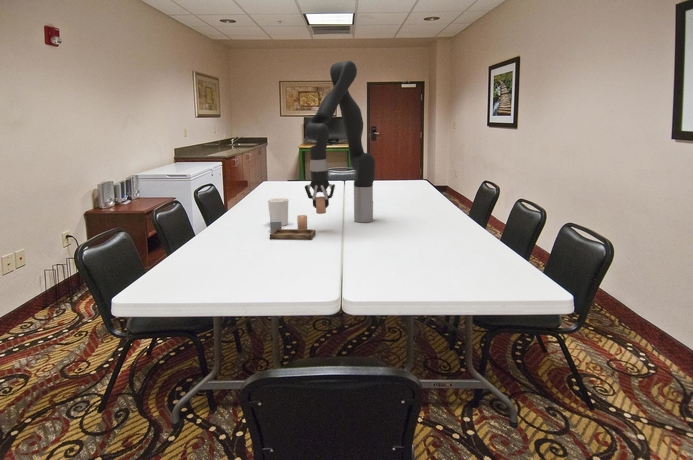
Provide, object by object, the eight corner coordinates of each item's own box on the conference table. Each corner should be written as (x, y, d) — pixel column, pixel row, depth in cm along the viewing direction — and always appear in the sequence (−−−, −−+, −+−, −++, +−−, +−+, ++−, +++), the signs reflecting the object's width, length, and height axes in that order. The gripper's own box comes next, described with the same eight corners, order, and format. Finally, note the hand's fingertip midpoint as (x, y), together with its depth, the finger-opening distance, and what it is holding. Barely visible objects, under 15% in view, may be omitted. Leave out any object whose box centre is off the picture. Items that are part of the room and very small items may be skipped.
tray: (315, 234, 210) (315, 229, 210) (311, 239, 201) (311, 235, 200) (276, 233, 212) (275, 229, 212) (269, 239, 203) (269, 234, 202)
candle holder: (285, 227, 224) (284, 202, 221) (266, 226, 226) (264, 201, 223) (292, 222, 233) (291, 198, 230) (273, 221, 235) (272, 197, 232)
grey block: (281, 229, 219) (281, 219, 218) (281, 232, 214) (281, 221, 213) (270, 230, 219) (270, 219, 217) (270, 232, 214) (270, 222, 212)
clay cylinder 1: (308, 230, 217) (307, 215, 215) (306, 232, 213) (306, 217, 211) (298, 229, 218) (298, 214, 216) (296, 232, 214) (296, 217, 212)
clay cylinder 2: (326, 211, 216) (326, 196, 214) (325, 213, 212) (324, 198, 210) (317, 211, 217) (316, 196, 215) (315, 213, 212) (314, 198, 210)
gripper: (336, 168, 212) (337, 205, 217) (304, 168, 214) (306, 205, 218) (333, 170, 205) (335, 209, 209) (301, 171, 207) (303, 209, 211)
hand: (320, 207), depth 214 cm, fingers closed on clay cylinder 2, 4 cm apart
